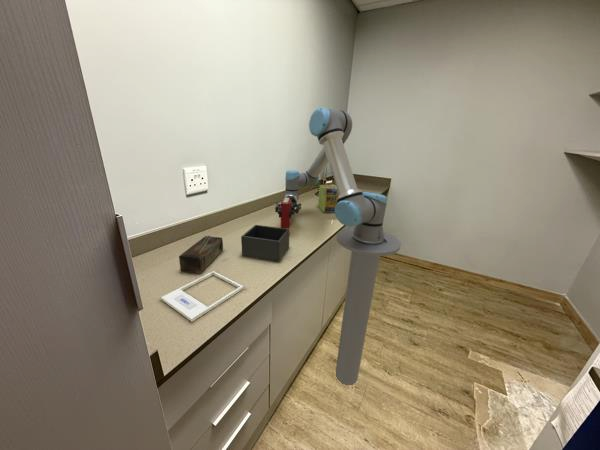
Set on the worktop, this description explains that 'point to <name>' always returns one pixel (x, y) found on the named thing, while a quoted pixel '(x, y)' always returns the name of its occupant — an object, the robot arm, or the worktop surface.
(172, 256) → the worktop surface
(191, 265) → the dark brown wooden block
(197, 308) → the photo frame
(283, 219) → the block
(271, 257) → the bin
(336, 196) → the protein box
